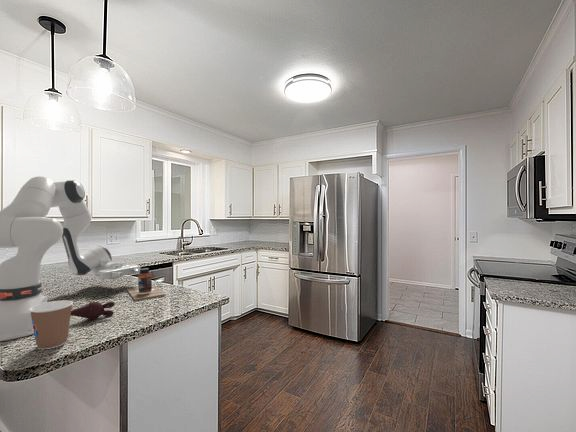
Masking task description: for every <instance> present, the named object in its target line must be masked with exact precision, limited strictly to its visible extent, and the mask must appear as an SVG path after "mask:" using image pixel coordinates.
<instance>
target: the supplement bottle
mask: <svg viewBox="0 0 576 432" xmlns="http://www.w3.org/2000/svg"><path fill="white" fill-rule="evenodd" d="M137 274H138V276H137V280H138V281H137V282H138V287H139V292H141V293H144V292H149V291H151V290H152V285H153V283H152V272H150V268H149V267H146V268H145V267H144V268H140V272H139V273H137ZM138 287H137V288H138Z"/></svg>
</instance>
